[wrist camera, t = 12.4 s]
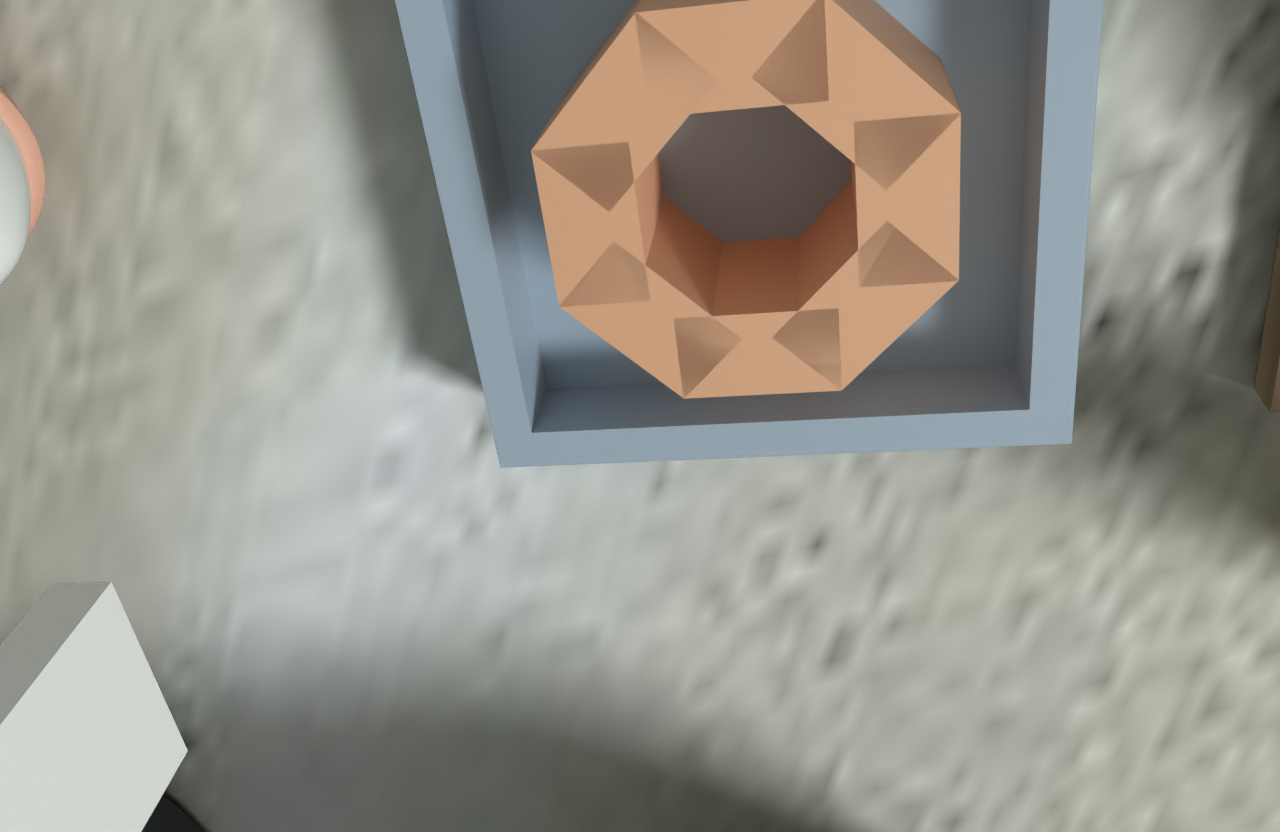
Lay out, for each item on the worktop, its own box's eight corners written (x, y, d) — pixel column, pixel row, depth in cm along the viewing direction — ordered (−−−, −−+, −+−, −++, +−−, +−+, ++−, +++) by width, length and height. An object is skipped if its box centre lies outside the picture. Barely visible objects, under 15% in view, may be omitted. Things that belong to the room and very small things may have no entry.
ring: (602, 324, 30) (576, 404, 26) (546, -18, 26) (507, 25, 22) (939, 303, 28) (957, 384, 25) (940, -62, 24) (963, -23, 21)
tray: (524, 407, 32) (500, 467, 30) (409, -145, 25) (366, -127, 23) (1049, 380, 30) (1071, 443, 28) (1085, -235, 23) (1120, -227, 20)
